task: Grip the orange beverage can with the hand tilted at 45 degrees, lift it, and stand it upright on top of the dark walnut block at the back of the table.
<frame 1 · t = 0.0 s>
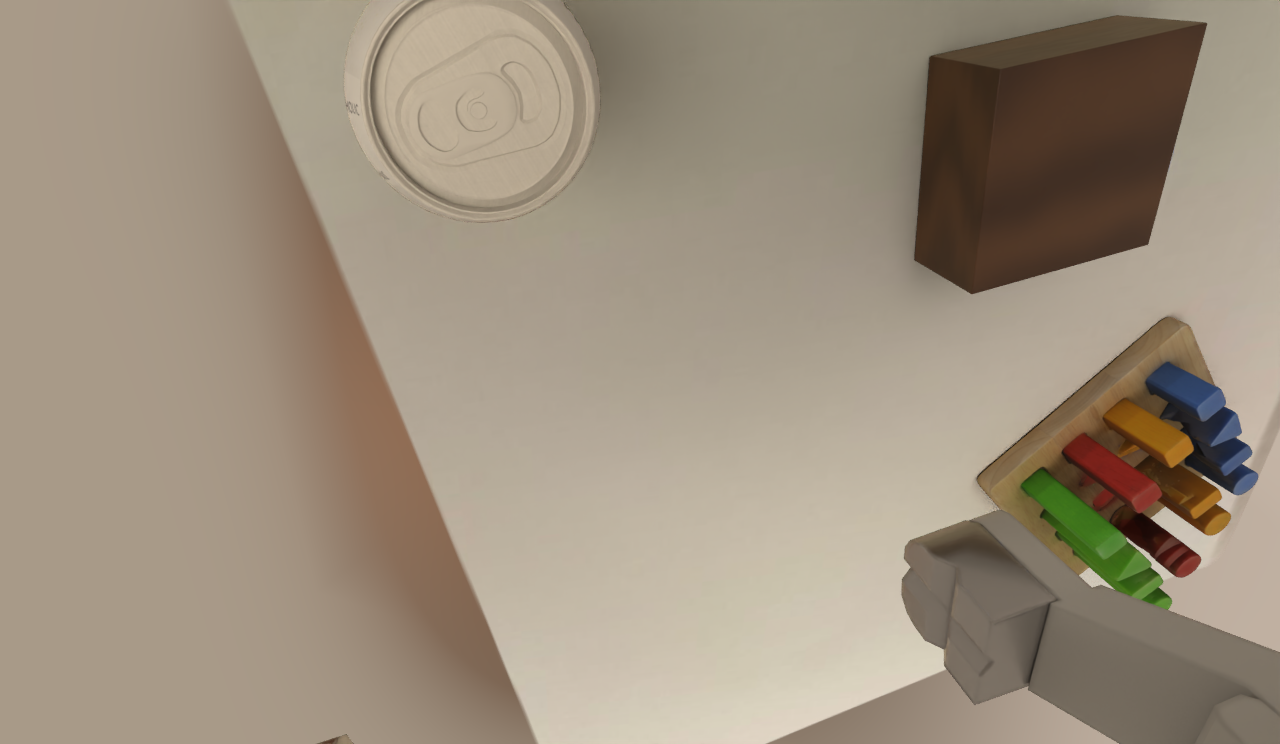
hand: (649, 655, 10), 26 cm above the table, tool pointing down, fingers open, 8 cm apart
walnut block: (1010, 144, 39), on the table
orange beverage can: (448, 42, 29), on the table
peg board: (1102, 453, 55), on the table
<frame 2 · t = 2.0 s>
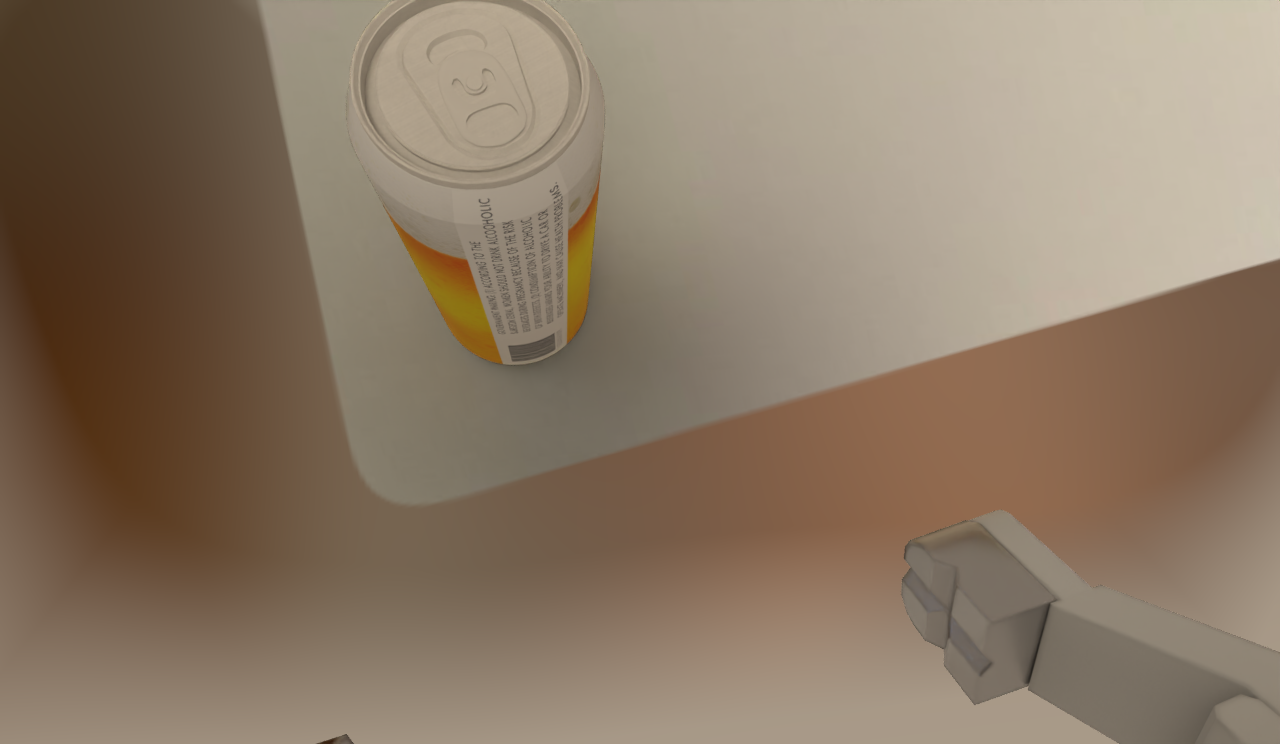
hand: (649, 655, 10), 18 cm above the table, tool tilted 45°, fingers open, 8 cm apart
orange beverage can: (516, 302, 30), on the table
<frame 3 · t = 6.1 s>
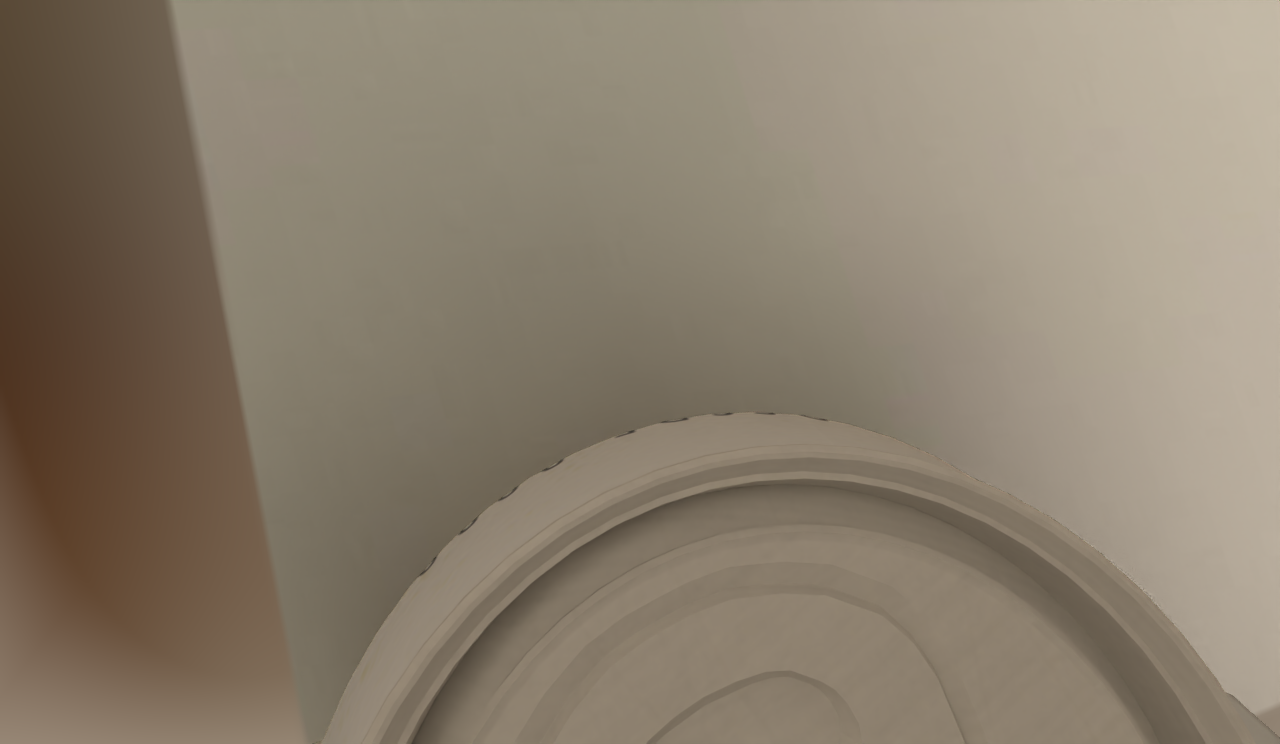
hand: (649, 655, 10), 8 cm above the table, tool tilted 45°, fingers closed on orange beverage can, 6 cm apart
orange beverage can: (621, 631, 18), on the table, touching gripper
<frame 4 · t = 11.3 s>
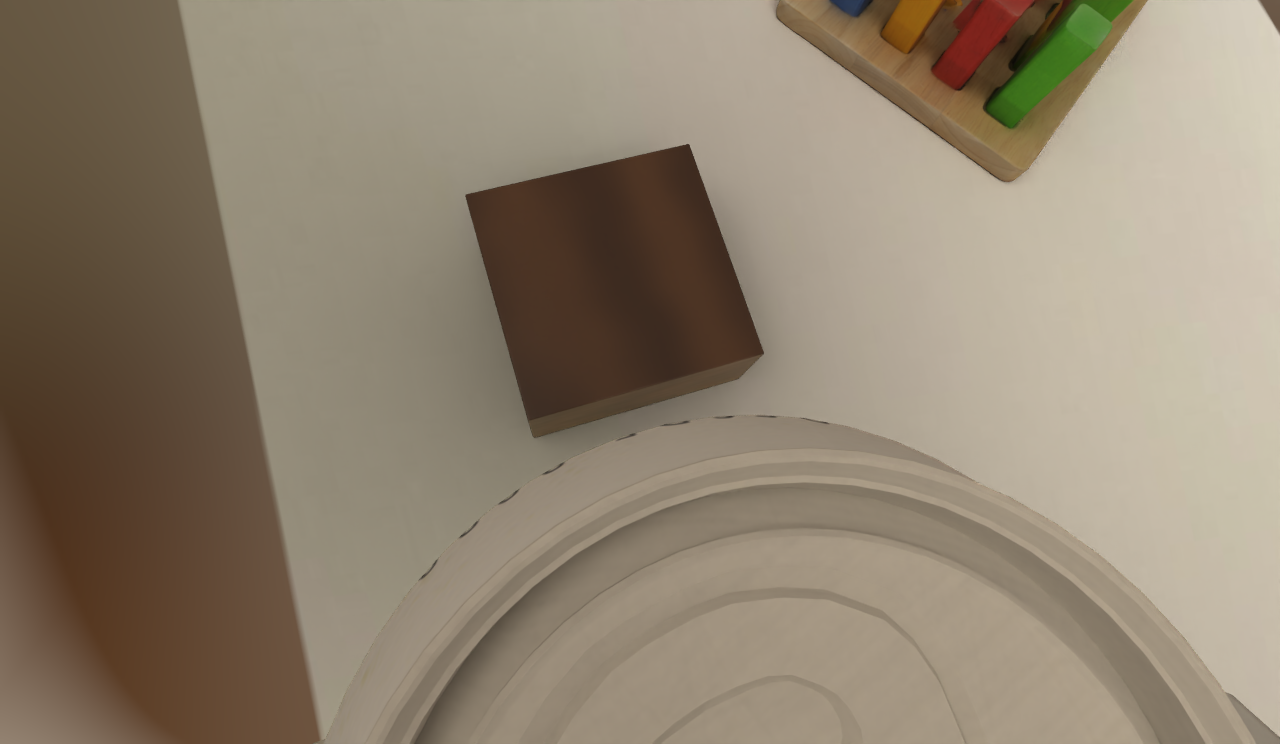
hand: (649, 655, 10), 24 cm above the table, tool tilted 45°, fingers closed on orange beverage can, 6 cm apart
walnut block: (607, 309, 37), on the table
orange beverage can: (622, 632, 18), point 16 cm above the table, touching gripper
peg board: (959, 12, 44), on the table
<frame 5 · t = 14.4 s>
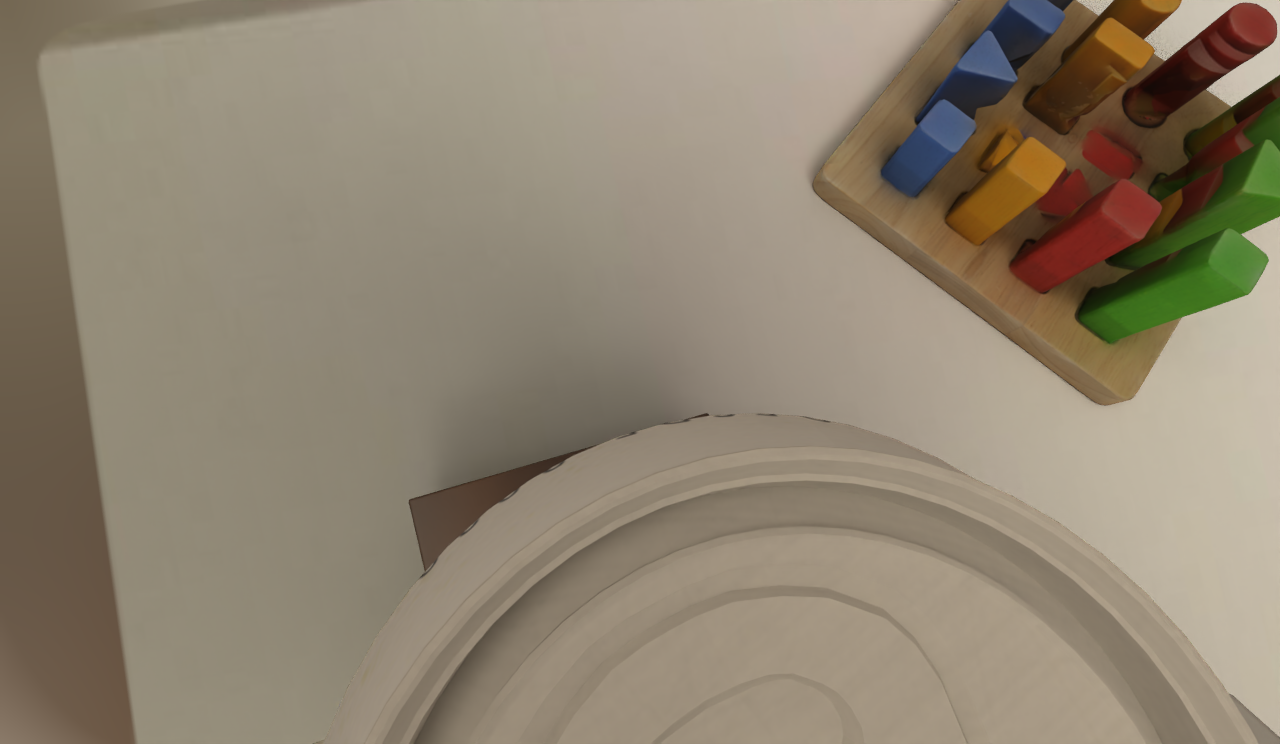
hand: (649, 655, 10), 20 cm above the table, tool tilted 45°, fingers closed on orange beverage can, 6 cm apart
walnut block: (600, 599, 29), on the table
orange beverage can: (622, 631, 18), point 11 cm above the table, touching gripper
peg board: (1036, 176, 36), on the table
when the fingers open (13 cm above the table, at t = 16.7 s): orange beverage can stays where it is, resting on walnut block.
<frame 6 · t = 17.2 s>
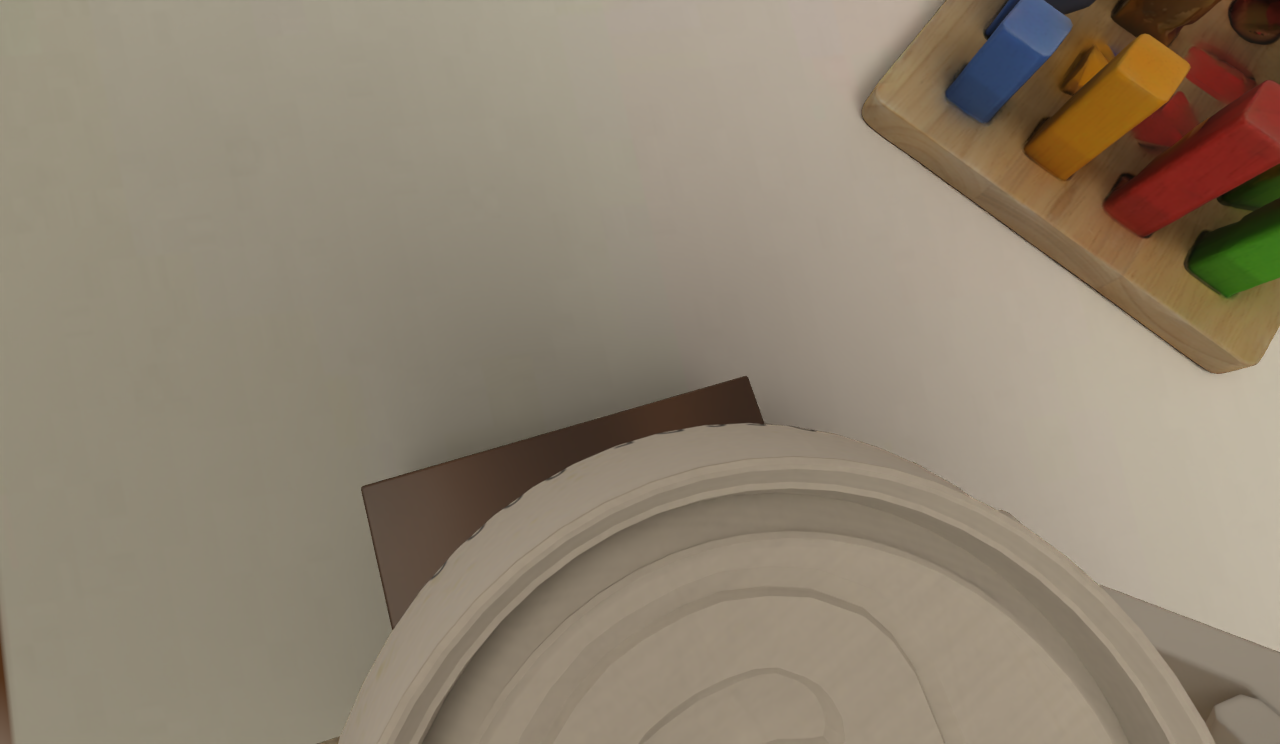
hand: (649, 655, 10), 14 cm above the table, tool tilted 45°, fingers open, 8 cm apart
walnut block: (610, 612, 23), on the table
orange beverage can: (621, 630, 18), point 5 cm above the table, touching walnut block
peg board: (1125, 105, 30), on the table
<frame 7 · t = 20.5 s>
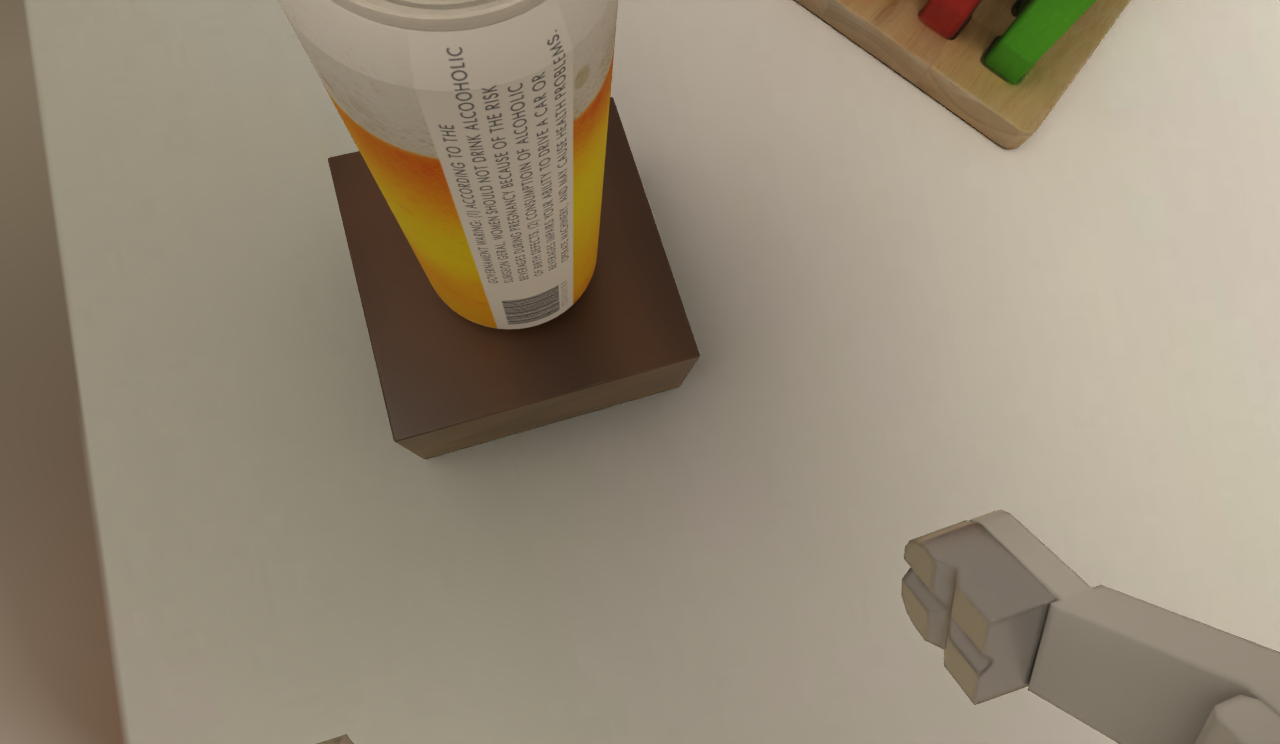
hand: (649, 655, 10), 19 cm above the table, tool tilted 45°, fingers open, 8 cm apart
walnut block: (521, 301, 30), on the table
orange beverage can: (513, 258, 26), point 5 cm above the table, touching walnut block
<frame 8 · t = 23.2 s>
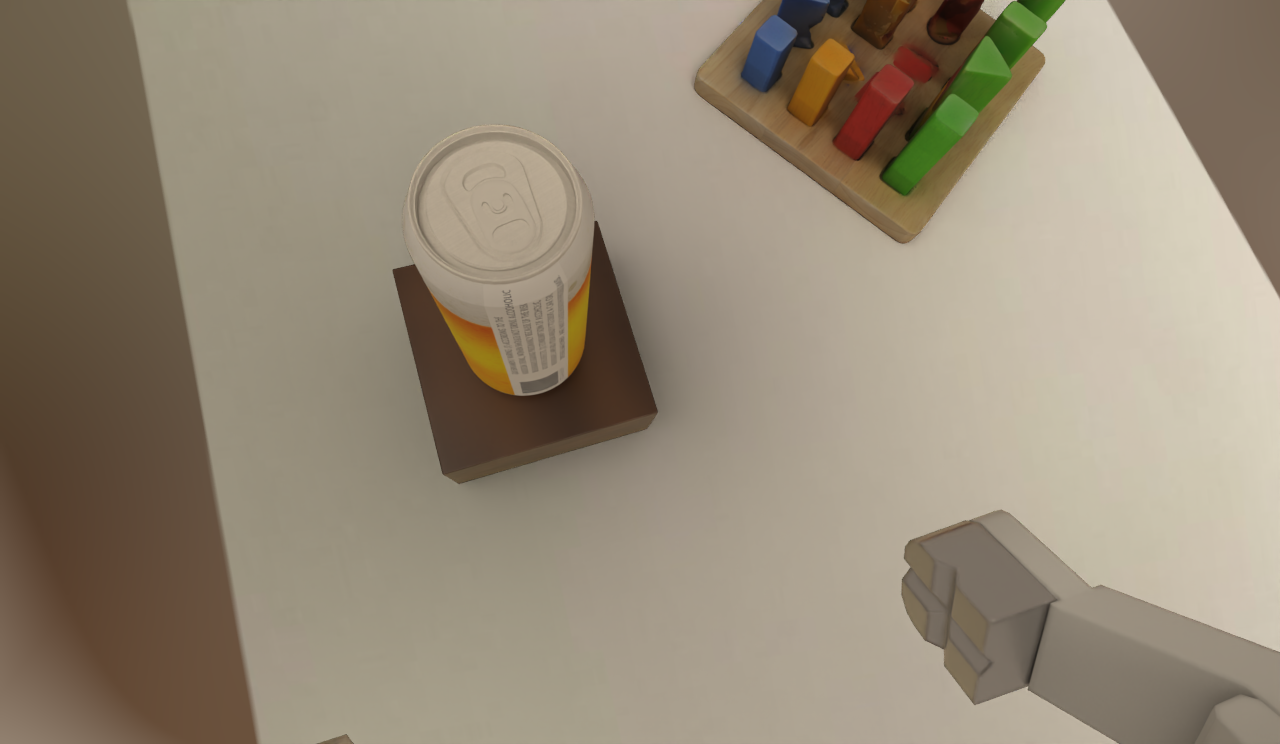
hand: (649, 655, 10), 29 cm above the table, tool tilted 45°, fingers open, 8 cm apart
walnut block: (529, 365, 41), on the table
orange beverage can: (525, 342, 36), point 5 cm above the table, touching walnut block
peg board: (865, 83, 48), on the table
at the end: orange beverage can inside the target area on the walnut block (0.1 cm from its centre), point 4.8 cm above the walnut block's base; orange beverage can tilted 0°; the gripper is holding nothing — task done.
